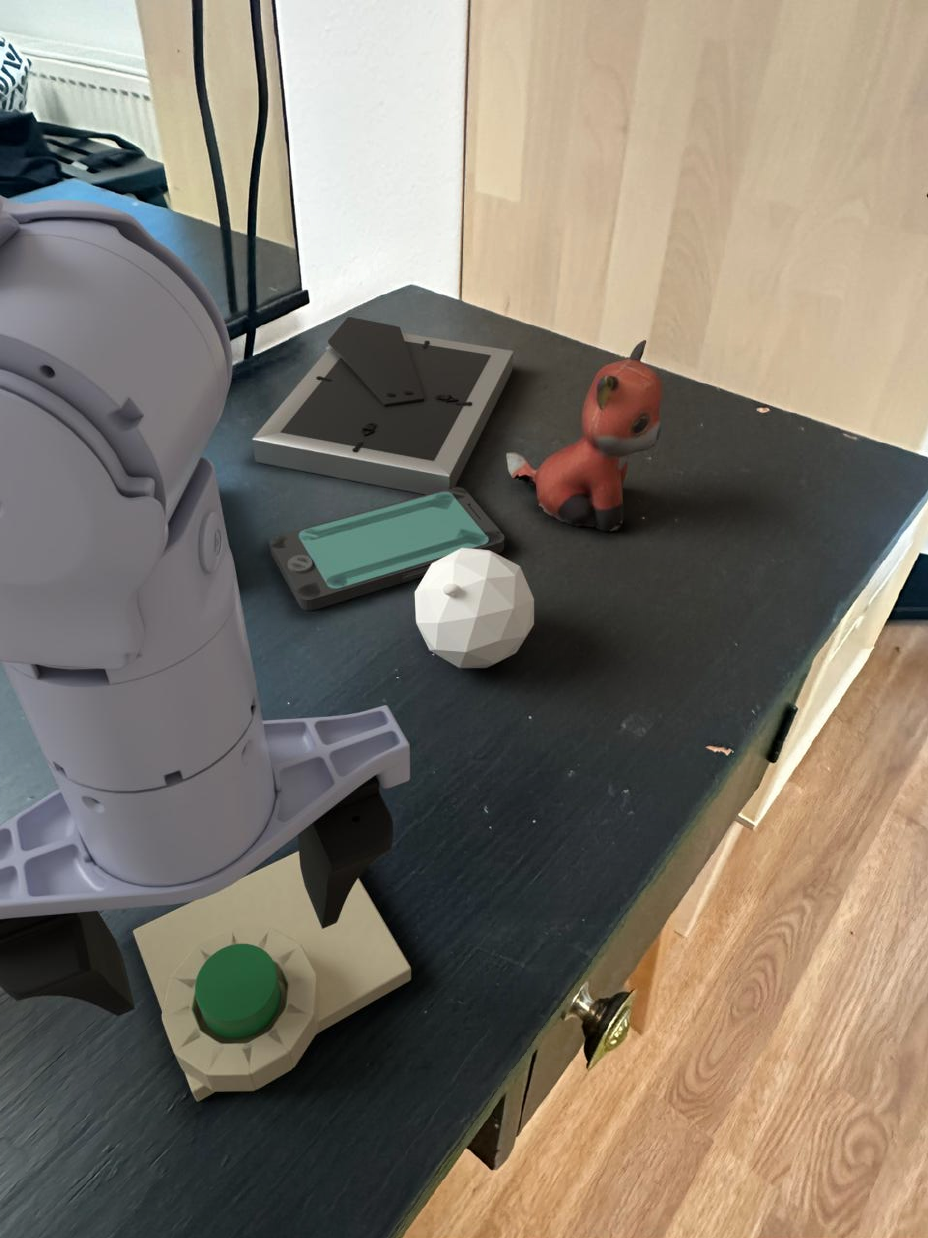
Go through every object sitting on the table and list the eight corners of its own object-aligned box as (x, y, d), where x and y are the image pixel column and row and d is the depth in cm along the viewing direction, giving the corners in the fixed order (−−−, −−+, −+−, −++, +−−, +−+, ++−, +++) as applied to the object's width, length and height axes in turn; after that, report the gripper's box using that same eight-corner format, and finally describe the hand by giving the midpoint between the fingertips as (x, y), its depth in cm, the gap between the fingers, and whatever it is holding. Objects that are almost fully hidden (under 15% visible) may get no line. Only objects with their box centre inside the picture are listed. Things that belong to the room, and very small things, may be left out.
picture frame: (349, 345, 84) (255, 462, 70) (348, 316, 82) (250, 430, 68) (511, 371, 82) (448, 499, 67) (514, 342, 80) (449, 467, 65)
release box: (206, 1133, 36) (193, 1107, 33) (136, 942, 41) (121, 910, 39) (425, 1004, 40) (426, 973, 38) (334, 847, 45) (330, 812, 43)
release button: (218, 1055, 35) (211, 1038, 34) (191, 986, 37) (183, 967, 36) (293, 1013, 36) (289, 995, 35) (263, 949, 38) (258, 929, 37)
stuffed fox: (517, 454, 72) (530, 311, 64) (653, 490, 69) (686, 344, 61) (483, 505, 67) (492, 356, 58) (628, 545, 64) (660, 395, 56)
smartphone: (266, 535, 61) (461, 482, 66) (268, 550, 62) (461, 496, 67) (302, 601, 57) (509, 539, 62) (304, 616, 57) (508, 553, 63)
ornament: (554, 670, 54) (516, 639, 47) (442, 685, 57) (389, 657, 50) (546, 562, 57) (507, 517, 49) (437, 580, 59) (386, 540, 52)
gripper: (347, 551, 29) (364, 795, 39) (-154, 689, 24) (5, 932, 34) (440, 699, 25) (434, 935, 34) (-153, 906, 20) (30, 1116, 29)
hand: (224, 944), depth 34 cm, fingers open, 7 cm apart
